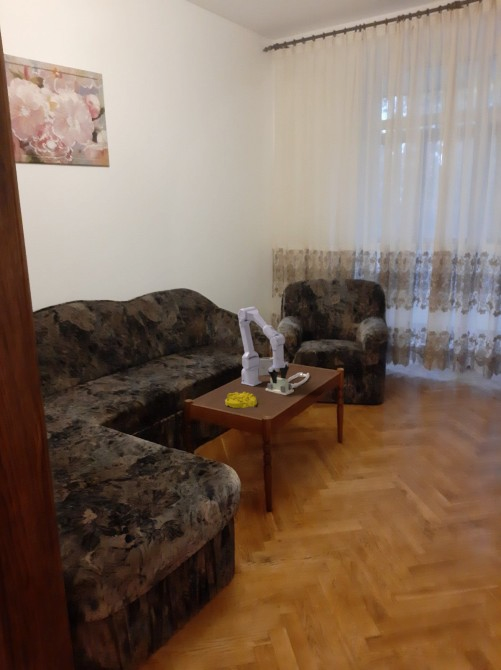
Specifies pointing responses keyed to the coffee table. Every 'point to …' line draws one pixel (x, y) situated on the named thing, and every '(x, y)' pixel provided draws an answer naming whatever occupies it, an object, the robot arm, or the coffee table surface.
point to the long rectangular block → (280, 384)
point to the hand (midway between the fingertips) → (279, 381)
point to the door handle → (300, 381)
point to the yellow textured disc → (240, 400)
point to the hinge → (265, 366)
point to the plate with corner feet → (279, 390)
